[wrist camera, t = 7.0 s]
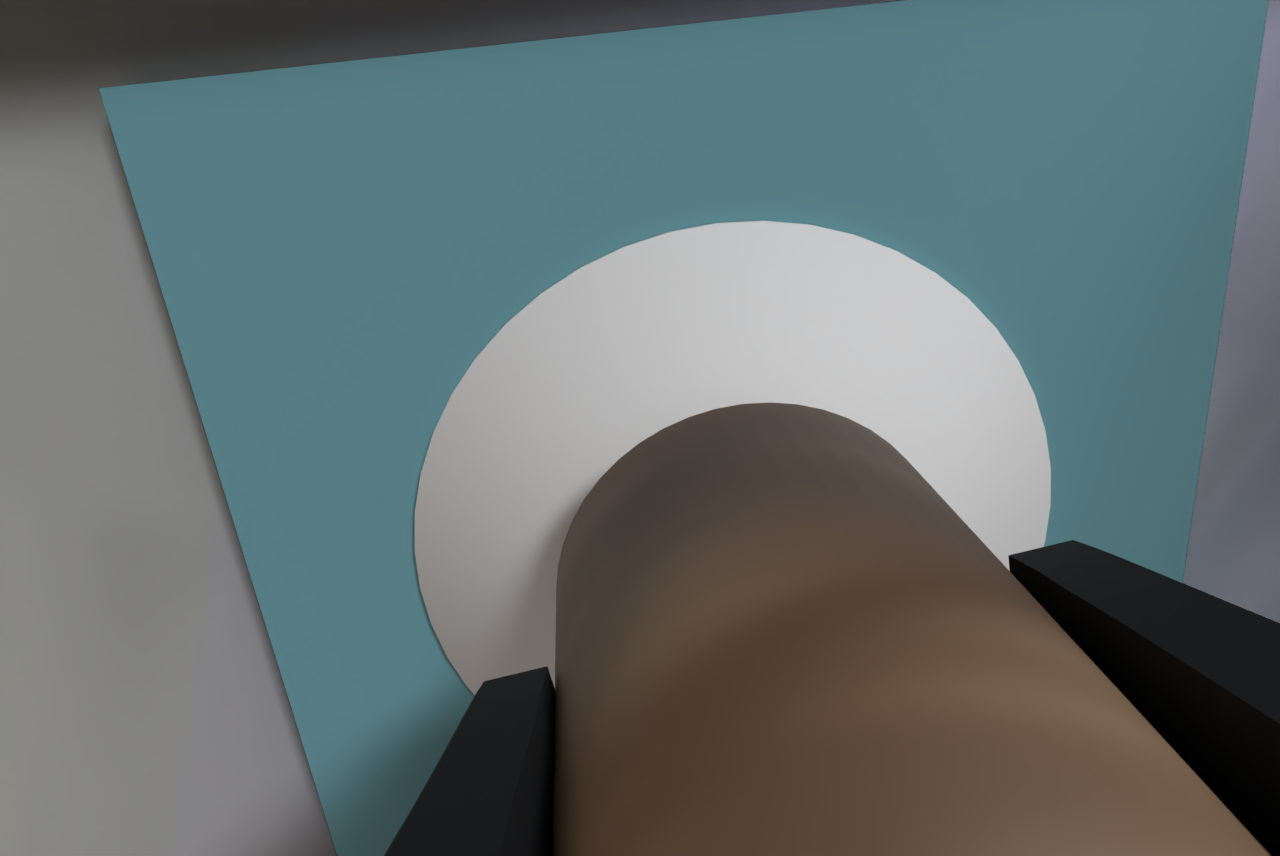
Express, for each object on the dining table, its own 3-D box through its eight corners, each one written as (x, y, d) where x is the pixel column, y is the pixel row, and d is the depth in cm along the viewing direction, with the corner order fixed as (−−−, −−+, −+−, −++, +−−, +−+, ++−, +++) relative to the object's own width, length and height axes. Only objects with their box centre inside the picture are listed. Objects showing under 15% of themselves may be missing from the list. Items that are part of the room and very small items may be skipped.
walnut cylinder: (923, 358, 9) (1785, 1009, 3) (959, 695, 11) (1548, 1598, 4) (509, 458, 9) (381, 1341, 3) (608, 779, 11) (675, 1800, 4)
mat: (1246, -35, 9) (1281, -42, 9) (1129, 811, 14) (1150, 837, 13) (118, 87, 9) (93, 88, 9) (371, 923, 13) (363, 953, 13)
